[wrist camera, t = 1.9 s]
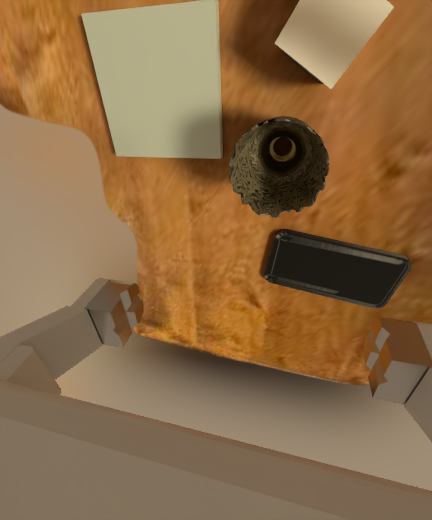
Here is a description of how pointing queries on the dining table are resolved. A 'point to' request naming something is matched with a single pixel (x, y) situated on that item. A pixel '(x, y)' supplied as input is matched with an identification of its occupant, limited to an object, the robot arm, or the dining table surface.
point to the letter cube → (330, 34)
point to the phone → (335, 268)
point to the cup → (279, 167)
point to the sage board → (160, 78)
